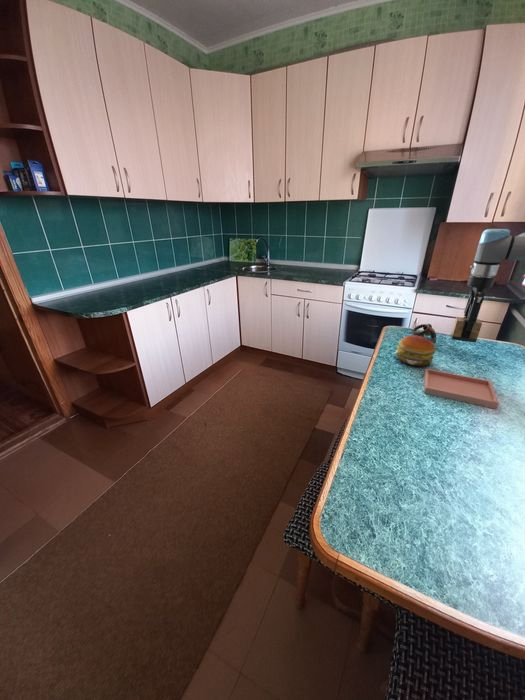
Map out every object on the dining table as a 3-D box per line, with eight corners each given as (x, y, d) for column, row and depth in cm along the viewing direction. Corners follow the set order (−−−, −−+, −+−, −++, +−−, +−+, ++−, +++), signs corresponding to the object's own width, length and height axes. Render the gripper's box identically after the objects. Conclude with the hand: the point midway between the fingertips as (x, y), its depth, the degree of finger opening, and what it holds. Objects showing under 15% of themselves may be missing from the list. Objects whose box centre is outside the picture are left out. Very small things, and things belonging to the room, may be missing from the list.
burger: (430, 372, 107) (437, 348, 103) (391, 363, 114) (396, 340, 109) (433, 357, 118) (439, 334, 113) (397, 350, 124) (402, 328, 119)
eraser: (474, 338, 115) (480, 319, 112) (475, 342, 112) (482, 323, 108) (450, 335, 119) (456, 316, 115) (451, 339, 115) (457, 320, 111)
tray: (488, 386, 99) (490, 380, 98) (496, 409, 88) (499, 403, 87) (424, 373, 107) (425, 368, 106) (424, 393, 96) (425, 387, 95)
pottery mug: (436, 347, 127) (429, 332, 124) (413, 350, 134) (407, 335, 131) (441, 331, 134) (435, 317, 131) (419, 335, 141) (413, 321, 138)
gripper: (467, 270, 113) (451, 326, 123) (473, 280, 99) (454, 342, 109) (490, 271, 109) (472, 328, 120) (500, 281, 95) (478, 345, 106)
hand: (464, 334), depth 114 cm, fingers closed on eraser, 4 cm apart
